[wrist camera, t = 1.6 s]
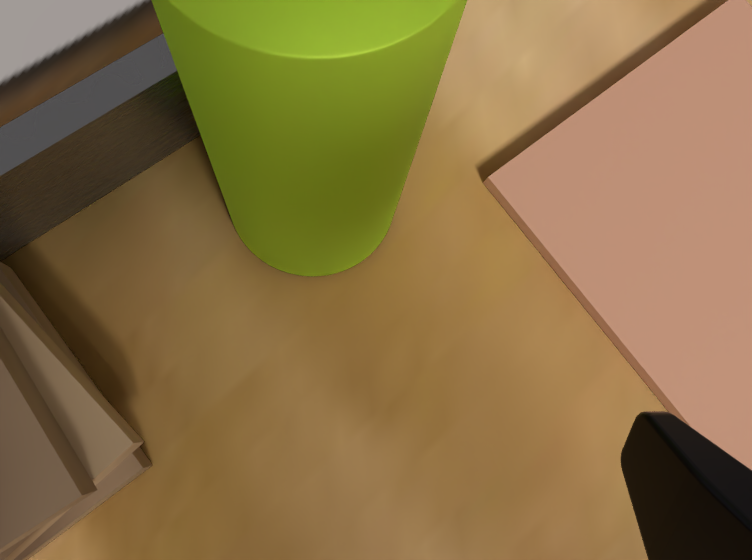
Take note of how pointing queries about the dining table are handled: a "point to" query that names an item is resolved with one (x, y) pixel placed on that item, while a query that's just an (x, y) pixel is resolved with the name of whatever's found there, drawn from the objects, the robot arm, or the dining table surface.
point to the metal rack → (90, 141)
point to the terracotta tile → (660, 220)
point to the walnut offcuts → (52, 431)
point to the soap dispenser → (310, 114)
